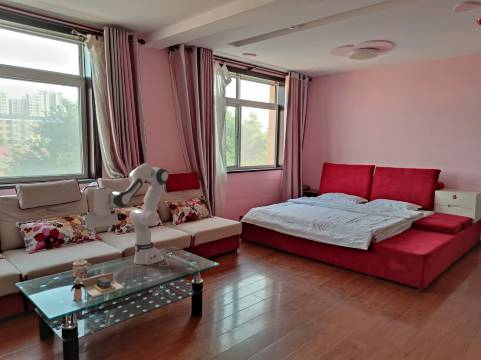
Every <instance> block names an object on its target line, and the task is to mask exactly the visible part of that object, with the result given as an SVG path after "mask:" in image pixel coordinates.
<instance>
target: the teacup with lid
mask: <svg viewBox="0 0 481 360" xmlns="http://www.w3.org/2000/svg"><path fill="white" fill-rule="evenodd" d="M88 266H89V267H90V268H89V269H88ZM92 268H93V265H92V263H88V261H87V260H84V259H82V258H78V260H76V261H74V262H73V263H72V277H74V278H78V277H79V278H83V277H86V276H88V272H90V271H91V270H92Z"/></svg>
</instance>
